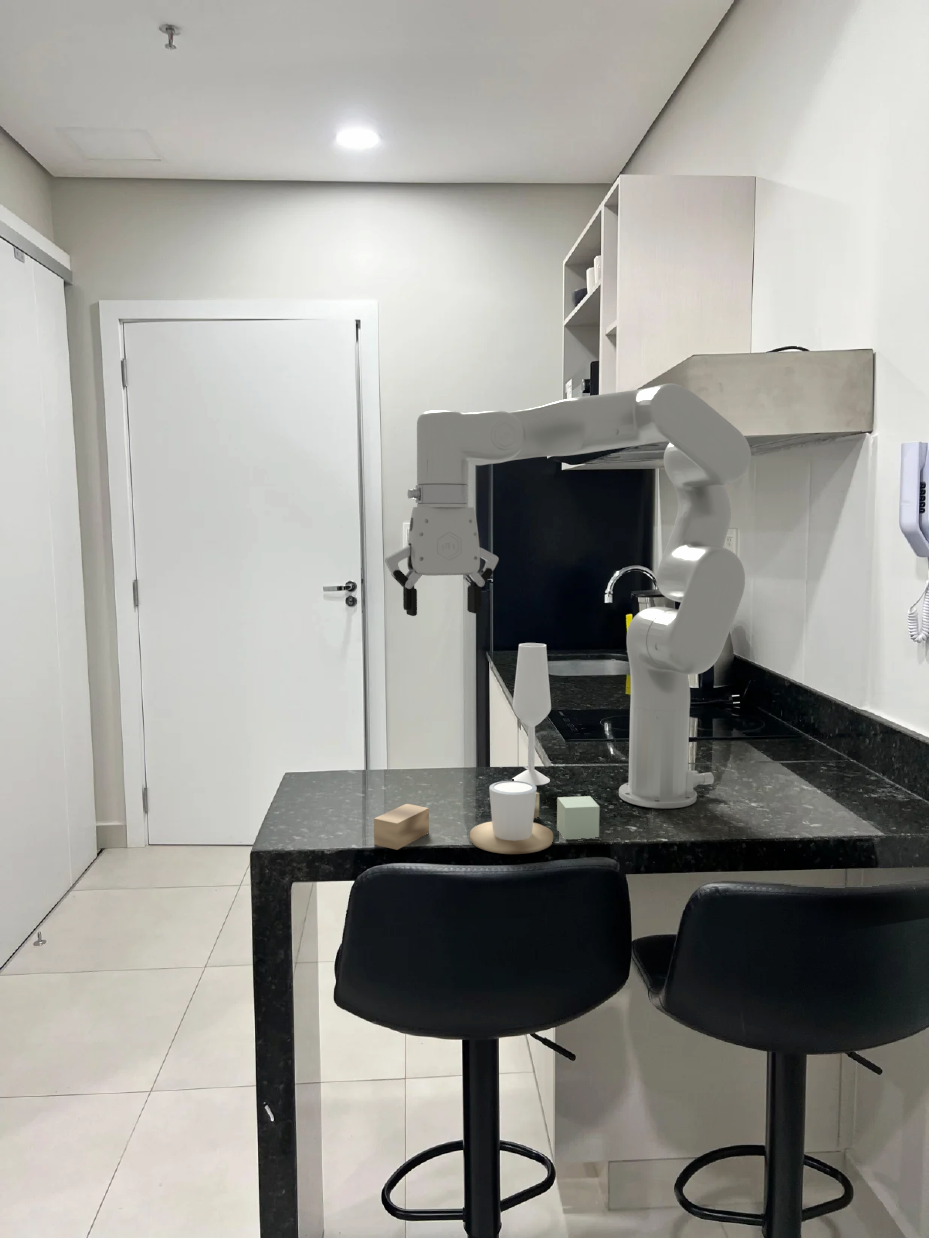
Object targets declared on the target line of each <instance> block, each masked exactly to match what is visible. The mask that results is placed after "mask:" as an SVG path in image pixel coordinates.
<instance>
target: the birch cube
mask: <svg viewBox="0 0 929 1238" xmlns="http://www.w3.org/2000/svg"><path fill="white" fill-rule="evenodd" d="M537 817H539V818H540V793H539V792H537V791H536V799H535V809H534V818H536V819H538V818H537Z"/></svg>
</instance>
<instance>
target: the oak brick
mask: <svg viewBox="0 0 929 1238" xmlns="http://www.w3.org/2000/svg"><path fill="white" fill-rule="evenodd" d="M427 833H429V834H430V808H429V807H426V806H425V807H424V806H421V805H415V804H411V803H405V804H403V805H401V806H398V807H396V808H394V809H392V810H389V811H388V812H385V813H383V814H381V815H378V816H377V817H374V818H373V844H374V846H379V847H384V848H389V849H391V850H396V851H397V850H400V849H401V848H403V847H405V846H407V845H409V844H411V843H413V842H415V841H417V840H419V839H421V838H423V837H424V835H425V836H427V835H428V834H427ZM426 834H427V835H426ZM422 836H423V837H422ZM420 837H421V838H420Z"/></svg>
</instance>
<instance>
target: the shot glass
mask: <svg viewBox="0 0 929 1238" xmlns="http://www.w3.org/2000/svg"><path fill="white" fill-rule="evenodd" d="M488 789H489V799H490V800H489V801H490V802H489V803H490V811H491V812H490V813H491V821H492V825H493V835H494V836H495V837H497V838H499V839H503V840H512V841H517V840H524V839H528V838H529V837H531V836H532V829H533V823H534V820H535V819H534V809H535V799H536V792H537V790H538V789H537V785H534V784H531V783H528V782H522V781H512V780H501V781H498V782H494V783H492V784H490V785H489V788H488Z"/></svg>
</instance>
